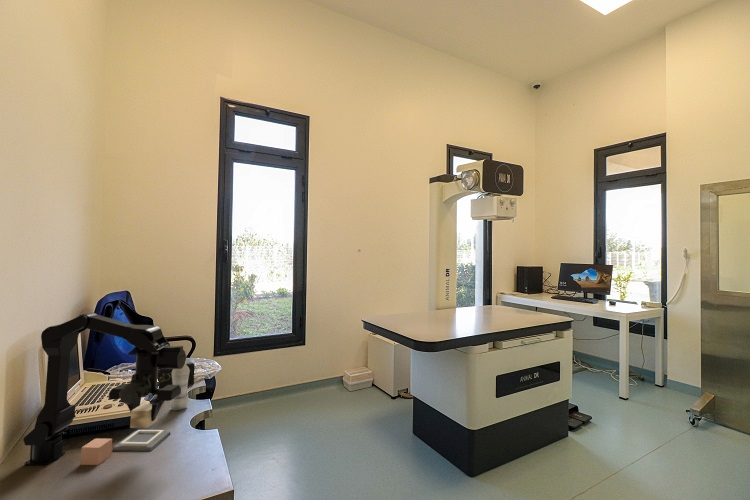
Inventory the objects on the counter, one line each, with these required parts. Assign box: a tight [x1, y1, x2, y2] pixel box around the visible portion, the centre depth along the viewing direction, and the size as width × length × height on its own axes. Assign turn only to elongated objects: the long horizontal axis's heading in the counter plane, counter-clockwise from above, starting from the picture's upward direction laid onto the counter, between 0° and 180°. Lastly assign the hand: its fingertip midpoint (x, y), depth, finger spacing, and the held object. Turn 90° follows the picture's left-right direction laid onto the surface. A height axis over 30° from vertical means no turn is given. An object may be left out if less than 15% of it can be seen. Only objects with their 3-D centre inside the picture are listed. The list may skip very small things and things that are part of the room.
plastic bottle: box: [169, 360, 190, 411], centre depth 137 cm, size 6×7×20 cm
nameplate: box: [157, 362, 196, 389], centre depth 159 cm, size 21×2×10 cm, turn 121°
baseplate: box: [112, 429, 171, 452], centre depth 111 cm, size 12×10×2 cm
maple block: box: [129, 403, 159, 429], centre depth 104 cm, size 5×5×5 cm
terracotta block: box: [80, 437, 113, 466], centre depth 101 cm, size 5×5×5 cm
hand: (144, 420), depth 104 cm, fingers closed on maple block, 5 cm apart
